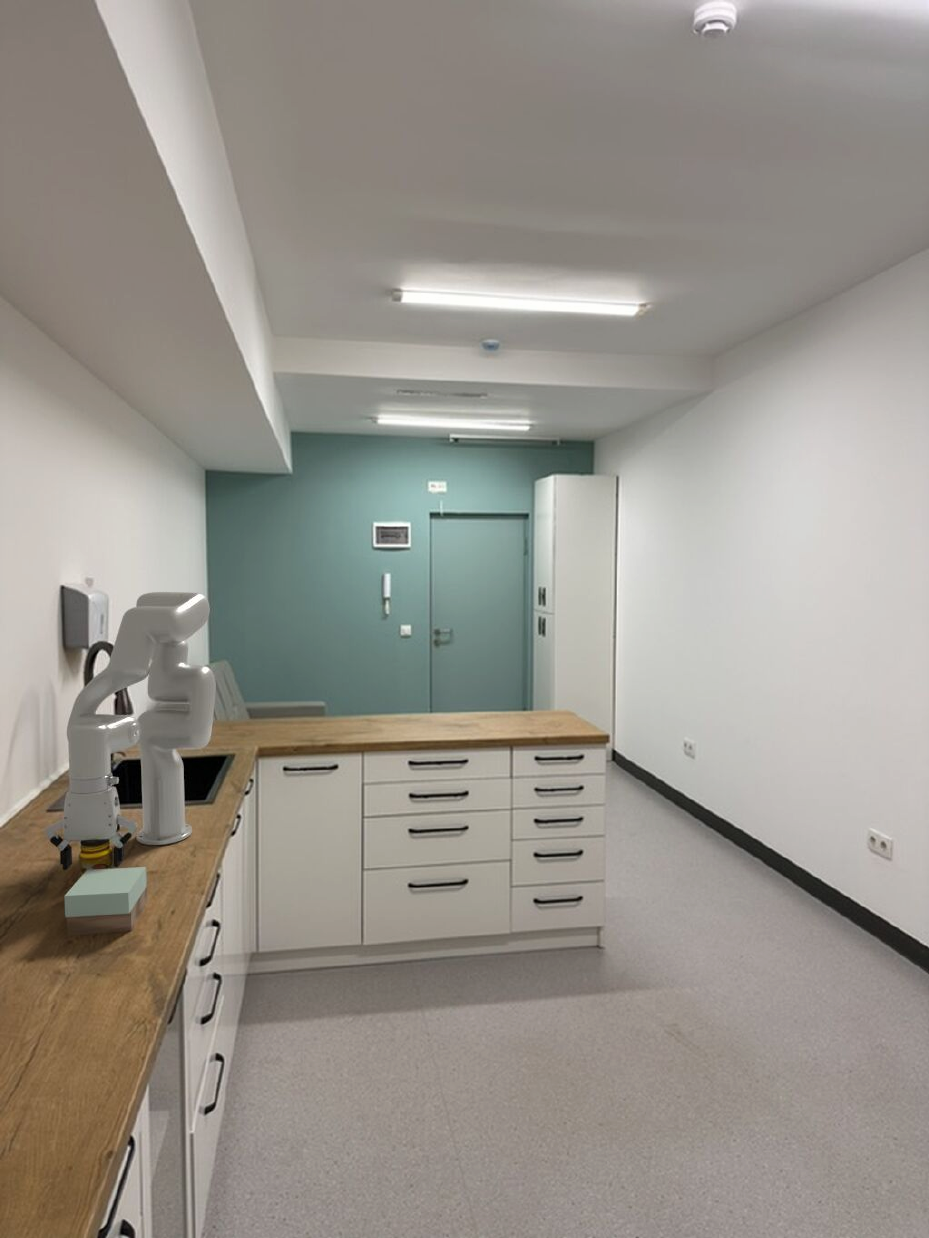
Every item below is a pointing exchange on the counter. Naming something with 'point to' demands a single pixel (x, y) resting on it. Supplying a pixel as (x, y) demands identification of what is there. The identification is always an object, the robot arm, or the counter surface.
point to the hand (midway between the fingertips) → (92, 865)
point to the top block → (105, 892)
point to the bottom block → (106, 921)
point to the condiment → (95, 855)
